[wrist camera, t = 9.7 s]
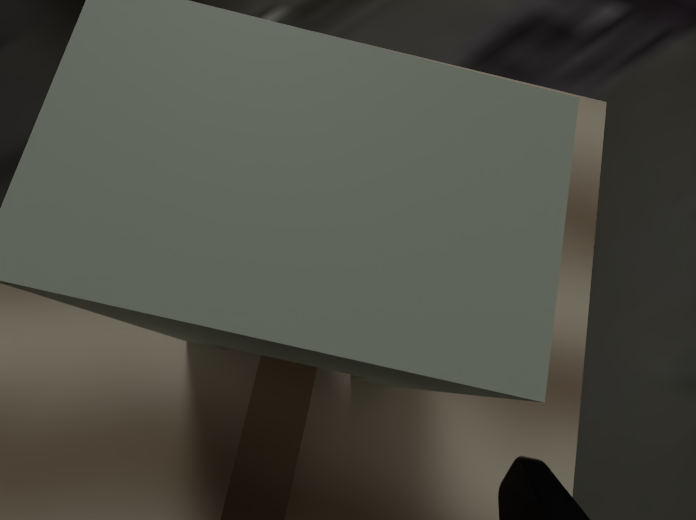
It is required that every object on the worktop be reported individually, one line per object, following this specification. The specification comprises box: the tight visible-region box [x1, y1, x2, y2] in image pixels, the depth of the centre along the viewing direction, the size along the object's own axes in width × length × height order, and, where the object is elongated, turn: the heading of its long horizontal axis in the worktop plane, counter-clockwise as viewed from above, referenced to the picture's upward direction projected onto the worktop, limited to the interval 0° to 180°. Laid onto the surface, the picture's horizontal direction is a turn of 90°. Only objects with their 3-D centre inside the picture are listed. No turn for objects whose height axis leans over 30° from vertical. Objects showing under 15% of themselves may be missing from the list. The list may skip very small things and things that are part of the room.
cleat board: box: [0, 33, 606, 520], centre depth 16 cm, size 20×19×4 cm
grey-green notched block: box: [0, 0, 579, 403], centre depth 11 cm, size 4×6×10 cm, turn 78°
